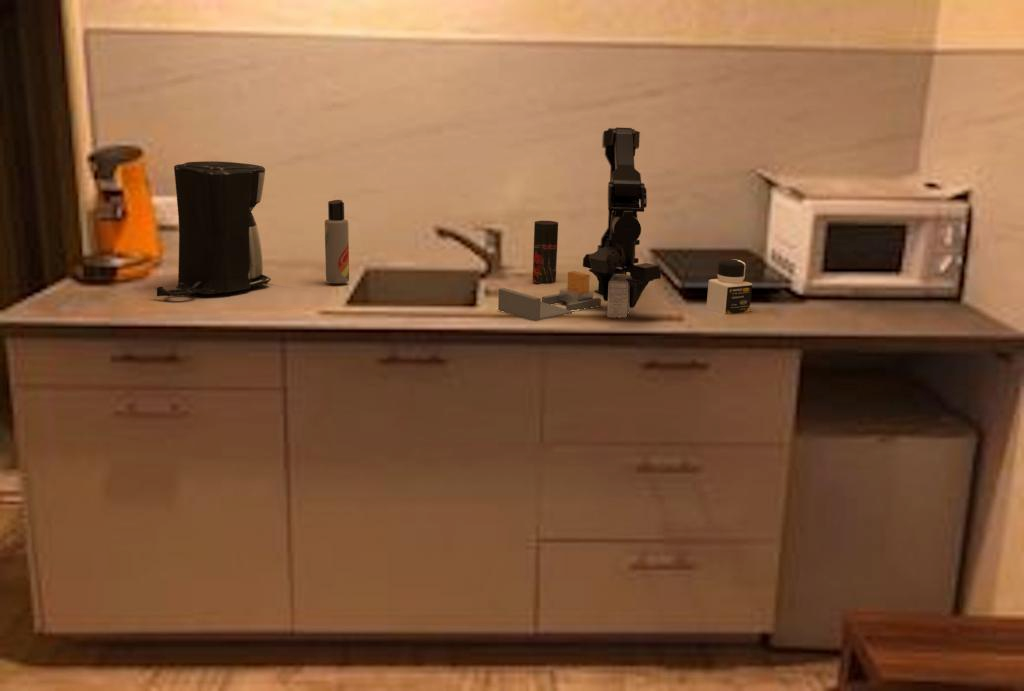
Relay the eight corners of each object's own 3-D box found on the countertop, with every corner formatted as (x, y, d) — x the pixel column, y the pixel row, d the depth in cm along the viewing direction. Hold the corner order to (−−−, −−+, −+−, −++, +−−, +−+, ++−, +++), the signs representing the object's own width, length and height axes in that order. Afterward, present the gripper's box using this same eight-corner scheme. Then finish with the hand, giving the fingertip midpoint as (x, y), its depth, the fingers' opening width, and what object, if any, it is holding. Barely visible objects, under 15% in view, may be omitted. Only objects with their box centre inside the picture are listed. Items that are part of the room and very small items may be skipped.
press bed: (568, 298, 242) (569, 276, 240) (605, 308, 233) (606, 286, 232) (498, 311, 228) (498, 288, 226) (534, 322, 219) (535, 299, 217)
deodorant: (558, 283, 257) (561, 224, 253) (535, 283, 255) (537, 224, 251) (552, 278, 262) (554, 220, 258) (529, 278, 261) (532, 220, 257)
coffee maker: (281, 278, 254) (276, 160, 246) (230, 304, 227) (224, 172, 219) (207, 272, 257) (201, 156, 249) (150, 297, 231) (140, 168, 223)
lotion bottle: (354, 280, 253) (352, 200, 247) (338, 284, 248) (336, 202, 243) (336, 277, 256) (335, 198, 250) (321, 281, 251) (319, 200, 246)
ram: (574, 296, 238) (575, 270, 237) (592, 301, 234) (594, 274, 232) (559, 299, 235) (560, 272, 234) (577, 304, 231) (578, 277, 229)
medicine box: (626, 320, 223) (629, 281, 221) (606, 318, 224) (608, 280, 222) (630, 311, 231) (632, 274, 228) (610, 310, 232) (612, 273, 229)
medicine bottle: (725, 316, 229) (730, 264, 226) (705, 309, 235) (709, 258, 232) (750, 313, 232) (755, 262, 229) (729, 306, 238) (734, 256, 235)
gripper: (566, 232, 224) (563, 300, 228) (629, 245, 211) (625, 318, 215) (601, 227, 231) (598, 294, 235) (665, 240, 218) (659, 310, 222)
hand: (618, 304), depth 227 cm, fingers closed on medicine box, 7 cm apart
